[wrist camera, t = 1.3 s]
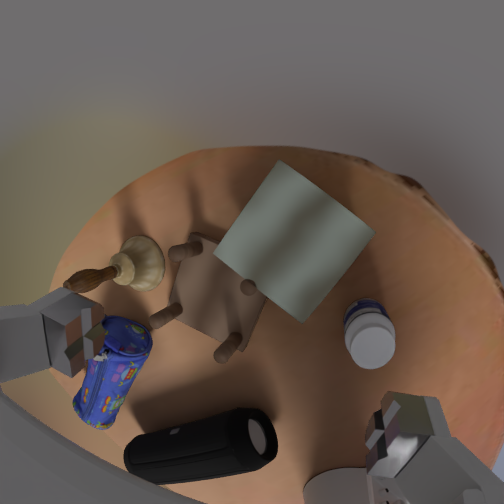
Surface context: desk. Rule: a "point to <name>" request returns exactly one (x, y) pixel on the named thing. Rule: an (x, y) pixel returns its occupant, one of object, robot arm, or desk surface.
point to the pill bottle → (369, 333)
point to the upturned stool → (211, 297)
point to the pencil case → (112, 371)
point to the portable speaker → (204, 448)
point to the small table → (293, 241)
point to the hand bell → (125, 268)
